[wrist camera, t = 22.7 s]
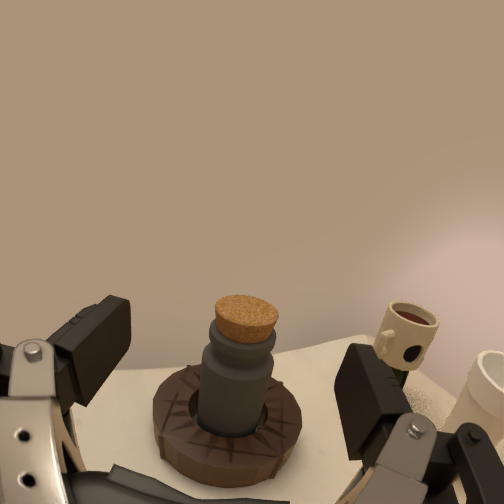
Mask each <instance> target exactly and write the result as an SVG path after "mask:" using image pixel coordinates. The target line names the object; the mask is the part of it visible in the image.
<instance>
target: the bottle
mask: <svg viewBox="0 0 504 504" xmlns="http://www.w3.org/2000/svg"><path fill="white" fill-rule="evenodd" d="M215 313H216V319H214V320H213V321H212V323H211V325H210V329H209V338H210V341H211V342H210V343H209V344H208V345H207V346H206V347H205V349H204V351H203V355H202V363H201V374H200V386H199V399H198V414H197V425H198V426H199V427H201V428H202V429H203V430H204V431H206V432H209V433H211V434H213V435H215V436H219V437H225V438H243V437H246V436H249V435H252V434H254V433H255V431H256V427H257V424H258V421H259V418H260V414H261V411H262V408H263V404H264V401H265V397H266V393H267V390H268V386H269V383H270V379H271V375H272V370H273V366H274V359H273V357H272V355H271V353H270V351H272V349H273V347H274V345H275V340H276V332H275V330H274V328H273V327H274V326H275V324H276V322H277V319H278V316H279V314H278V311H277V309H276V308H275V307H274V306H273V305H271V304H270V303H268V302H266V301H264V300H262V299H259V298H256V297H251V296H245V295H231V296H226V297H223V298H221V299H219V300H218V301H217V302H216V304H215Z"/></svg>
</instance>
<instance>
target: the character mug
mask: <svg viewBox="0 0 504 504" xmlns="http://www.w3.org/2000/svg"><path fill="white" fill-rule="evenodd" d="M439 323H440V322H439V319H438V318H437V316H436V315H435V314H433V313H432V312H431V311H430V310H428V309H426V308H424V307H422V306H420V305H417V304H414V303H411V302H407V301H392V302H390V303H389V305H388V308H387V311H386V313H385V316H384V319H383V322H382V324H381V327H380V329H379V332H378V335H377V337H376V339H375V342H374V344H373V348H374V350H375V352H376V354H377V356H378V358H379V359H382V360H383V361H384V362H385V363H386V364H387V365H389V366H390V367H391V369H392V371H393V373H394V375H395V377H396V379H397V381H398V382H399V384H400V387H401V388H402V389H403V387H404V384H405V381H406V379H407V376H408V373H409V371H413V370H415V369H417V368H418V367H419V366H420V364H421V363H422V361H423V360H424V355H425V353H426V351H427V349H428V347H429V346H430V344H431V342H432V341H433V339H434V336H435V333H436V331H437V329H438V326H439Z"/></svg>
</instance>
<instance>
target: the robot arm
mask: <svg viewBox="0 0 504 504" xmlns="http://www.w3.org/2000/svg"><path fill="white" fill-rule="evenodd" d="M130 342H131V310H130V302H129V300H127V299H123V298H119V297H116V296H112V295H109V296H107V297H106V298H105V299H104V300H102V301H101V302H100V303H99V304H98V305H97V304H94V305H91V306H89V307H86V308H84V309H82V310H81V311H80V312H79V313H78V314H76V315H75V317H73V318H72V319H70V320H69V322H67V323H65V324H64V325H63V326H62V327H61V328H60V329H58V330H57V331H56V332H55V333H54V334H52V335H51V336H50V337H49V338H48V339H47V340H46V341H44V340H42V339H28V340H25V341H23V342H21V343H19V344H18V345H17V346H16V347H11V346H6V345H3V344H0V504H290V501H274V500H261V499H251V498H236V499H196V498H193V497H191V496H188V495H186V494H184V493H182V492H180V491H178V490H176V489H174V488H172V487H170V486H168V485H166V484H164V483H162V482H160V481H159V480H157V479H155V478H152V477H149V476H146V475H143V474H140V473H137V472H134V471H132V470H129V469H126V468H124V467H121V466H118V465H116V464H114V465H113V467H112V469H111V471H110V473H109V472H101V471H87V470H86V468H85V465H84V463H83V460H82V457H81V454H80V450H79V446H78V441H77V436H76V431H75V426H74V421H73V415H72V410H71V406H72V405H73V403H74V402H76V403H78V404H80V405H82V406H85V407H87V405H88V404H89V403H90V401H91V400H92V398H93V397H94V396H95V394H96V393H97V391H98V390H99V389H100V387H101V386H102V384H103V383H104V382H105V380H106V379H107V378H108V376H109V375H110V374H111V372H112V371H113V369H114V368H115V367H116V365H117V364H118V363H119V361H120V360H121V359H122V357H123V356H124V355H125V353H126V352H127V351H128V349H129V346H130ZM334 392H335V396H336V401H337V405H338V410H339V414H340V419H341V423H342V428H343V433H344V437H345V442H346V447H347V452H348V457H349V461H350V460H362V463H363V466H362V467H361V468H360V469H359V470H358V472H357V473H356V475H355V476H354V478H353V479H352V481H351V482H350V484H349V485H348V486H347V488H346V489H345V491H344V492H343V493H342V495H341V496H340V497H339V499H338V500H337V501H336V503H335V504H459V503H458V500H457V497H456V494H455V491H454V488H453V485H452V483H453V482H454V481H455V480H457V479H458V478H459V477H460V479H461V482H462V485H463V487H464V490H465V493H466V497H467V500H466V504H504V466H503V464H502V462H501V460H500V458H499V456H498V454H497V452H496V450H495V448H494V446H493V444H492V442H491V440H490V438H489V436H488V434H487V433H486V431H485V430H484V429H483V428H482V427H480V426H479V425H477V424H475V423H470V422H466V423H463V424H462V425H460V427H459V428H458V429H457V430H456V432H455V433H454V434H453V433H446V432H440V431H436V428H435V426H434V424H433V423H432V422H431V421H430V420H429V419H428V418H427V417H425V416H423V415H421V414H418V413H413V411H412V409H411V407H410V405H409V403H408V401H407V399H406V397H405V395H404V392H403V390H402V388H401V387H400V384H399V382H398V381H397V379H396V377H395V375H394V373H393V371H392V369H391V367H390V366H389V365H387V364H386V363H385V362H384V361H383V360H382V359H379V358H378V356H377V354H376V352H375V350H374V348H373V347H372V345H366V344H356V343H352V344H350V345H349V347H348V349H347V352H346V354H345V357H344V359H343V361H342V364H341V366H340V369H339V371H338V373H337V376H336V379H335V384H334Z"/></svg>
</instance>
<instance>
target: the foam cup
mask: <svg viewBox="0 0 504 504" xmlns="http://www.w3.org/2000/svg"><path fill="white" fill-rule="evenodd" d="M466 422H470V423H475V424H477V425H479V426H480V427H482V428H483V429H484V430H485V431H486V433H487V434H488V436H489V438H490V440H491V442H492V444H493V446H495V445H496V444H497V443H498V442H500V441H501V440H502V439H503V438H504V353H502V352H499V351H491V350H485V351H483V352H482V353H480V354H478V356H477V358H476V360H475V362H474V364H473V365H472V367H471V369H470V371H469V373H468V377H467V381H466V383H465V386H464V388H463V390H462V392H461V394H460V396H459V398H458V400H457V402H456V404H455V406H454V408H453V410H452V412H451V413H450V415H449V417H448V419H447V421H446V422H445V424H444V426H443V428H442V429H441V431H440V432H446V433H453V434H454V433H455V432H456V430H457V429H458V428H459V427H460V425H462V424H463V423H466Z"/></svg>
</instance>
